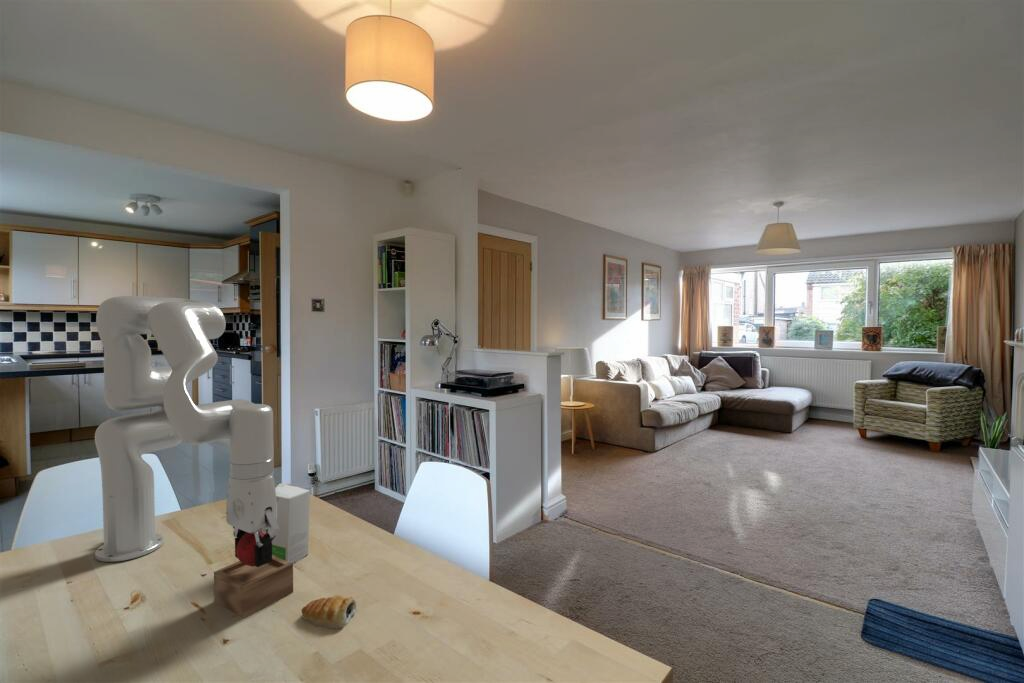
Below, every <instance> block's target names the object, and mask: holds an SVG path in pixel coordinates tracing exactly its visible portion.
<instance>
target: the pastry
mask: <svg viewBox="0 0 1024 683" xmlns="http://www.w3.org/2000/svg"><path fill="white" fill-rule="evenodd" d="M357 608H358V605H357V601H356V599H355V598H354V597H353V596H350V597H348V596H342V595H339V594H336V595H333V596H330V597H321V598H319V599H314V600H311V601H310V602H309V603H308V604H306V605H305V606H303V607H302V608H301V614H302V617H303V619H304V620H305V621H306V622H308V623H311V624H312V625H314V626H316V627H321V628H327V629H337V630H339V629H343V628H344V627H346V626H347V625H348V624H349V622H350V620H351V618H352V617H353V615H354V614H355V613H356V612H357Z"/></svg>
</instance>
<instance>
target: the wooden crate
mask: <svg viewBox="0 0 1024 683" xmlns="http://www.w3.org/2000/svg"><path fill="white" fill-rule="evenodd" d="M292 593H294V563H293V564H292V563H290V562H288V561H285V560H283V559H281V558H278V557H276V556H273V555H272V561H270V562H268V563H266V564H264V565H262V566H259V567H256V566H254V567H252V566H248V565H245V564H244V563H242V562H241V561H237V562H234V563H232V564H229V565H227V566H225V567H222V568H220V569H218V570H216V571H213V597H214V598H213V599H214V600H213V601H214V603H216V604H218V605H220V606H222V607H223V608H225V609H227V610H229V611H231V612H232V613H234V614H236V615H237V616H239V617H241V618H243V619H245V618H248V617H249V616H252V614H255V613H257V612H259V611H260V610H262V609H264V608H266V607H268V606H270V605H272V604H273V603H275V602H277V601H279V600H281V599H283V598H285V597H288V596H289V595H290V594H291V595H292Z"/></svg>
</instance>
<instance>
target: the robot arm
mask: <svg viewBox="0 0 1024 683" xmlns="http://www.w3.org/2000/svg"><path fill="white" fill-rule="evenodd" d="M95 318H96V319H95V321H96V322H95V324H96V328H97V330H96V331H97V332H98V337H99V338H100V341H101V345H102V348H103V395H104V402H105V404H106V406H107V407H108V408H109V409H111V410H113V411H119V412H121V411H122V412H123V411H127V412H128V411H134V410H142V409H149V408H154V407H155V408H156V410H155V411H149V412H147V411H146V412H143V413H133V414H127V415H121V416H117V417H114V418H110V419H107V420H105V421H103V422H102V423H100V425H98V427H97V428H96V430H95V433H94V444H95V447H96V452H97V454H98V459H99V464H100V471H101V472H100V473H101V490H102V491H101V493H102V522H103V524H102V525H103V526H102V527H103V544H102V545H101V546H99V547H98V548H97V549H96V550H95V552H94V554H95V557H94V558H95V559H96V560H98V561H99V562H106V563H114V562H123V561H129V560H132V559H136V558H140V557H143V556H145V555H148V554H150V553H152V552H154V551H156V550H157V549H159V548H160V547H161V546H163V544H164V536H163V535H162V534H160V533H157V532H156V517H155V516H156V514H155V513H156V511H155V510H156V509H155V508H156V506H155V476H154V475H155V474H154V470H153V468H152V466H151V465H150V464H149V463H148V462H146V461H145V460H144V459H143V457H142V455H144V454H149V453H152V452H157V451H161V450H166V449H170V448H173V447H176V446H179V445H180V444H181V443H182V442H184V443H185V444H188V445H190V446H199V445H204V444H205V445H206V444H209V443H214V442H218V441H222V440H229V441H228V442H229V478H228V483H227V490H226V491H227V492H226V504H225V505H226V507H225V509H226V512H225V517H226V519H225V520H226V523H227V524H228V525H229V526H231V527H232V528H233V532H232V533H233V534H232V535H233V537H234V557H235V558H237V553H236V549H237V544H238V542H239V540H240V539H241V538H242V537H243V535H244V534H246V533H247V532H248V533H251V534H255V538H256V543H257V546H255V566H256V567H259V566H262V565H264V564H266V563H268V562H270V561H272V542H273V541H274V538H275V536H276V535H277V533H278V532H279V531H280V528H279V526H278V524H277V522H276V521H277V501H276V490H275V488H276V485H275V478H274V475H275V474H274V473H275V467H274V466H275V465H274V464H275V462H274V460H275V459H274V458H275V457H274V454H275V453H274V449H275V448H274V444H275V442H274V411H273V408H272V407H271V406H270V405H268V404H263V403H254V402H252V401H249V400H247V399H242V398H239V399H238V398H236V399H230V400H223V401H215V402H207V403H203V404H202V403H201V404H195V403H194V401H193V400H192V398H191V395H190V394H189V392H188V389H187V384H189V383H190V382H193V381H194V380H196V379H198V378H200V377H201V376H203V375H205V374H207V373H208V372H209V371H211V370H212V369H213V368H214V367H215V365H216V364H217V362H218V358H219V357H218V356H219V355H218V353H217V352H216V350H215V348H214V346H213V345H212V343H211V341H210V340H215V339H218V338H219V337H221V336H222V335H223V334H224V332H225V330H226V327H227V326H226V325H227V324H226V323H227V322H226V318H225V315H224V314H223V311H222V310H221V308H219V307H218V306H217V305H216V304H214V303H212V302H208V301H207V302H206V301H200V300H196V299H195V300H194V299H189V298H183V297H180V298H179V297H169V296H168V297H161V296H159V297H158V296H145V295H144V296H143V295H142V296H141V295H122V296H121V295H120V296H112V297H110V298H107V299H105V300H103V301H102V302H101V303H100V304H99V306H98V309H97V311H96V317H95ZM142 335H153V337H154V339H155V341H156V343H157V344H158V347H159V348H160V350H161V352H162V354H163V356H164V358H165V360H166V361H167V363H168V366H152V350H151V347H150V345H149V344H148V342H147V341H146V340H145V339H144V337H143V336H142ZM263 524H265V527H263V528H262V525H263ZM265 530H266V534H265V535H264V536H263V537H261V532H262V531H265ZM237 559H238V558H237Z"/></svg>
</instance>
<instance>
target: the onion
mask: <svg viewBox="0 0 1024 683" xmlns="http://www.w3.org/2000/svg"><path fill="white" fill-rule="evenodd" d="M264 535H265V533H263V532H261V537H263V536H264ZM255 546H257V543H256V538H255V534H251V533H248V532H247V533H246V534H244V535H243V537H242V538H241V539H240V540H239V542H238V544H237V549H236V553H237V559H238V560H239V561H241V562H242V563H244V564H245V565H248V566H252V567H254V566H255ZM239 561H238V562H239Z"/></svg>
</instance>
